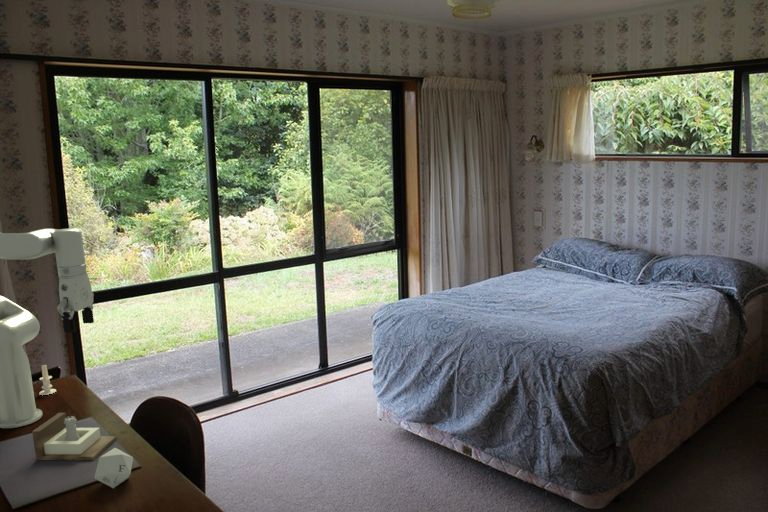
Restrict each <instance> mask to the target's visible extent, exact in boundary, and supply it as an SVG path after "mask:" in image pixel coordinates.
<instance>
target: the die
mask: <svg viewBox="0 0 768 512" xmlns="http://www.w3.org/2000/svg"><path fill="white" fill-rule="evenodd" d="M133 462H134V457H133V456H132V455H129V454H128V453H126V452H124V451H122V450H121V449H119V448H117V447H113V448H112V449H110V450H109V451H107V452H106V453H104V454H103V455H100V456H99V457H98V461H97V465H96V470H95V473H94V479H95V480H97V481H99V482H100V483H102V484H104V485H106V486H108V487H110V488H111V489H115V488H116V487H118V486H119V485H120V484H122V483H124V482H125V481H127V480H128V479H129V477H130V475H131V472H132V467H133Z"/></svg>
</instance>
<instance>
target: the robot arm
mask: <svg viewBox="0 0 768 512" xmlns="http://www.w3.org/2000/svg"><path fill="white" fill-rule="evenodd" d="M50 254H55V259H56V260H55V261H56V267H57V274H58V292H59V293H58V295H59V303H58V305H57V307H56V310H57V312H58V314H59V316H60V319H61V320H62V326H63V332H64V333H65V334H67V333H69V334H70V333H75V332H76V331H77V330H76V322H75V318H74V315H75V312H79V311H81V316H82V317H81V318H82V322H83V324H94V321H95V319H94V312H93V310H94V306H93V305H94V296H95V293H94V292H93V290H92V286H91V280H90V277H89V275H88V273H87V272H88V271H87V266H86V265H87V264H86V258H85V257H86V256H85V250H84V242H83V234H82V231H81V230H80V229H79V228H75V227H72V228H61V229H57V228H49V227H48V228H41V229H37V230H32V231H29V232H18V233H16V232H12V233H11V232H10V233H9V232H7V233H6V232H5V233H4V232H1V231H0V260H34V259H39V258H40V257H41V258H42V257H44V256H48V255H50ZM40 325H41V324H40V322H39V320H38V318H37V317H36V316H35V315H34V314H33V313H32V312H30V311H29V310H27V309H25V308H24V307H22V306H20V305H19V304H17V303H15V302H13V300H10V299H8V298H7V297H5V296H3V295H0V429H15V428H20V427H23V426H28V425H31V424H33V423H35V422H37V421H38V420H40V419H41V418H42V417H43V411H42V409H40V408H37V407H36V401H35V394H34V387H33V379H32V372H31V371H32V370H31V367H30V361H29V358H28V355H27V353H26V351H25V350H24V347H23V345H25V344H27V343H28V342H31V341H32V340H33V339H35V338H36V337H37V336H38V335H39V333H40V330H41V326H40Z"/></svg>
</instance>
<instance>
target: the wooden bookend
mask: <svg viewBox="0 0 768 512" xmlns="http://www.w3.org/2000/svg"><path fill="white" fill-rule="evenodd" d="M65 418H67V412H58V413H56V414H55V415H54V416H52V417H50V418H49V419H48V420H47V421H45V422H43V423H42V424H40V425H39V426H38V427H36V428H35V429H34V430H32V433H31V434H32V439H33V440H32V441H33V447H34V453H35V461H62V460H61V459H71V460H70V461H94V460H96V459H97V458H99V457H100V456H101V454H102V453H104V452H105V451H106V450H107V449H108V448H109V447H110V446H111V445H112V444H113V443H115V442H116V441H117V440H118V439H117V436H116V435H113V436H112V435H109V436H106V435H104V436H103V435H102V436H101V435H100V436H101V438H100V439H98V440H97V441H96V442H95V443H94V444H92V445H91V446H90V447H89V448H88V449H87V450H85V451H84V452H83V453H82V454H45V450H44V443H46V442H47V441H48V440H50V439H51V438H52V437H54V436H55V435H56V434H58V433H59V432H60V431H62V430H63V429H64V428H65V427H66V425H65V424H64V421H65ZM114 441H115V442H114ZM105 449H106V450H105ZM96 457H97V458H96ZM95 458H96V459H95ZM72 459H74V460H72Z"/></svg>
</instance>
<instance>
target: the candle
mask: <svg viewBox="0 0 768 512" xmlns="http://www.w3.org/2000/svg"><path fill="white" fill-rule="evenodd" d="M41 374H42V377H40V378H39V380H40V381H42V386H41V389H42V390H41V391H40V392H39V393H38V394H39V395H38V396H40V395H42V396H41V397H44V396H43V395H48V396H50V395H49V394H52V395H54V394H56V393H57V389H56V388H53V385H52V384H51V381H50V379H52V378H53V376H52V375H49V372H48V368H47V364H43V365H41ZM55 392H56V393H55ZM53 393H54V394H53Z"/></svg>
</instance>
